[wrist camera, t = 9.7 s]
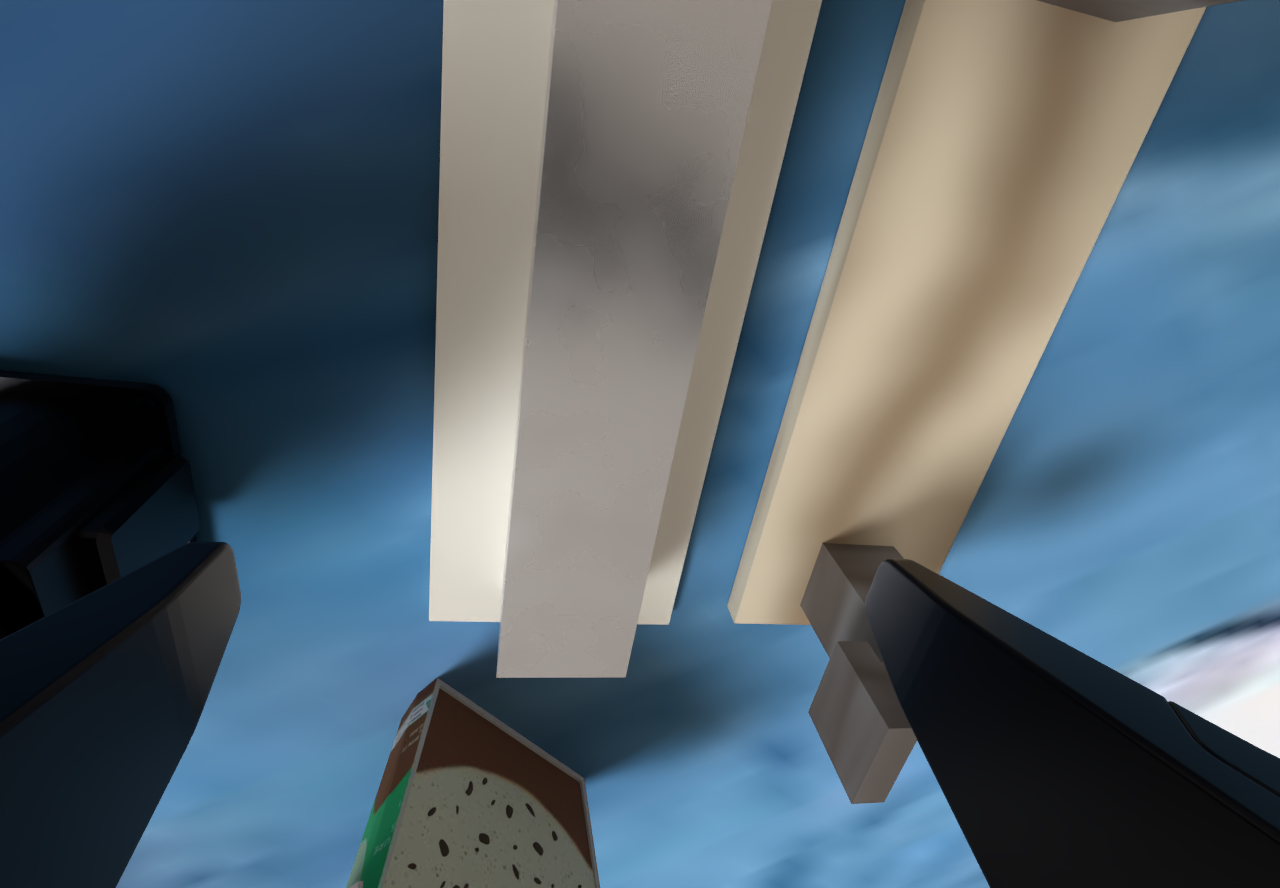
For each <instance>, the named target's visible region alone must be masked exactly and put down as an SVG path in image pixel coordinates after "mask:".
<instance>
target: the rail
mask: <svg viewBox="0 0 1280 888" xmlns="http://www.w3.org/2000/svg"><path fill="white" fill-rule="evenodd" d="M771 4H772V0H554V7H553V18H552V29H551V40H550V52H549V63H548V74H547V86H546V97H545V108H544V119H543V131H542V142H541V153H540V165H539V176H538V187H537V198H536V210H535V221H534V232H533V244H532V255H531V266H530V277H529V289H528V300H527V311H526V322H525V334H524V345H523V356H522V368H521V379H520V390H519V401H518V413H517V424H516V435H515V447H514V458H513V469H512V480H511V492H510V503H509V514H508V526H507V537H506V548H505V559H504V571H503V582H502V595H501V611H500V627H499V643H498V659H497V675H496V678H600V677H626V673H627V669H628V664H629V659H630V655H631V650H632V646H633V641H634V636H635V632H636V627H637V622H638V618H639V613H640V609H641V604H642V599H643V595H644V590H645V586H646V581H647V576H648V572H649V567H650V562H651V558H652V553H653V549H654V544H655V539H656V535H657V530H658V526H659V521H660V516H661V512H662V507H663V502H664V498H665V493H666V489H667V484H668V479H669V475H670V470H671V465H672V461H673V456H674V452H675V447H676V442H677V438H678V433H679V429H680V424H681V419H682V415H683V410H684V405H685V401H686V396H687V392H688V387H689V382H690V378H691V373H692V369H693V364H694V359H695V355H696V350H697V345H698V341H699V336H700V332H701V327H702V322H703V318H704V313H705V308H706V304H707V299H708V295H709V290H710V285H711V281H712V276H713V272H714V267H715V262H716V258H717V253H718V248H719V244H720V239H721V235H722V230H723V225H724V221H725V216H726V212H727V207H728V202H729V198H730V193H731V188H732V184H733V179H734V175H735V170H736V165H737V161H738V156H739V151H740V147H741V142H742V138H743V133H744V128H745V124H746V119H747V115H748V110H749V105H750V101H751V96H752V91H753V87H754V82H755V78H756V73H757V68H758V64H759V59H760V55H761V50H762V45H763V41H764V36H765V31H766V27H767V22H768V18H769V13H770V8H771Z"/></svg>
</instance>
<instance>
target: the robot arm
mask: <svg viewBox="0 0 1280 888" xmlns="http://www.w3.org/2000/svg"><path fill="white" fill-rule="evenodd" d="M142 397H145V398H148V399H150V400H151V401H152V402H153V403H154V405H155V408H151V407H148V406H147V405H146V404H144V402H143V400H142ZM199 529H200V523H199V517H198V511H197V505H196V499H195V494H194V488H193V482H192V476H191V470H190V464H189V461H188V460H187V459H186V458H185V457H184V455H182V454H181V448H180V443H179V437H178V431H177V426H176V420H175V414H174V409H173V403H172V400H171V397H170V395H169V394H168V393H167V392H166V391H165V390H164V389H162V388H161V387H159V386H157V385H153V384H147V383H135V382H124V381H112V380H101V379H89V378H78V377H66V376H55V375H43V374H32V373H20V372H9V371H0V888H116V886H117V884H118V882H119V880H120V878H121V876H122V874H123V872H124V870H125V868H126V866H127V864H128V862H129V860H130V858H131V856H132V854H133V852H134V850H135V848H136V846H137V844H138V842H139V840H140V839H141V837H142V835H143V833H144V831H145V829H146V827H147V825H148V823H149V821H150V819H151V817H152V815H153V813H154V811H155V809H156V807H157V805H158V803H159V801H160V799H161V797H162V795H163V793H164V791H165V789H166V787H167V785H168V783H169V781H170V779H171V777H172V775H173V773H174V771H175V769H176V767H177V765H178V763H179V761H180V760H181V758H182V756H183V754H184V752H185V750H186V748H187V745H188V743H189V741H190V739H191V737H192V735H193V733H194V731H195V728H196V726H197V723H198V721H199V718H200V716H201V713H202V711H203V708H204V706H205V703H206V700H207V698H208V695H209V692H210V690H211V687H212V684H213V681H214V679H215V676H216V673H217V671H218V668H219V665H220V663H221V660H222V657H223V654H224V652H225V649H226V646H227V644H228V641H229V638H230V635H231V633H232V630H233V627H234V625H235V622H236V619H237V617H238V614H239V610H240V604H241V593H240V587H239V581H238V575H237V569H236V563H235V557H234V552H233V550H232V548H231V546H230V545H228V544H227V543H225V542H197V539H196V533H197V531H198V530H199ZM865 613H866V617H867V620H868V622H869V625H870V628H871V630H872V633H873V635H874V638H875V641H876V643H877V646H878V649H879V651H880V654H881V656H882V659H883V662H884V664H885V667H886V670H887V672H888V675H889V677H890V680H891V683H892V685H893V688H894V691H895V693H896V695H897V698H898V700H899V703H900V705H901V707H902V710H903V712H904V714H905V716H906V718H907V720H908V722H909V724H910V726H911V729H912V731H913V733H914V735H915V737H916V739H917V741H918V743H919V745H920V747H921V749H922V751H923V753H924V755H925V757H926V759H927V761H928V763H929V765H930V767H931V769H932V771H933V773H934V775H935V777H936V779H937V781H938V783H939V785H940V787H941V789H942V791H943V793H944V795H945V797H946V799H947V801H948V803H949V805H950V807H951V809H952V811H953V813H954V816H955V818H956V820H957V822H958V824H959V826H960V828H961V830H962V832H963V834H964V836H965V838H966V840H967V842H968V844H969V846H970V848H971V850H972V852H973V854H974V856H975V858H976V860H977V862H978V864H979V866H980V868H981V870H982V872H983V874H984V876H985V878H986V880H987V882H988V884H989V886H990V888H1280V758H1278V757H1276V756H1274V755H1272V754H1270V753H1268V752H1266V751H1264V750H1262V749H1260V748H1258V747H1256V746H1254V745H1252V744H1250V743H1248V742H1247V741H1245V740H1243V739H1241V738H1239V737H1237V736H1235V735H1233V734H1232V733H1230V732H1228V731H1226V730H1224V729H1222V728H1220V727H1218V726H1217V725H1215V724H1213V723H1211V722H1209V721H1207V720H1205V719H1203V718H1202V717H1200V716H1198V715H1196V714H1194V713H1192V712H1191V711H1189V710H1187V709H1185V708H1183V707H1181V706H1180V705H1178V704H1176V703H1174V702H1171V701H1169V702H1167V700H1166V699H1165V698H1164V697H1163V696H1161V695H1159V694H1157V693H1155V692H1154V691H1152V690H1150V689H1148V688H1146V687H1144V686H1143V685H1141V684H1139V683H1137V682H1135V681H1133V680H1132V679H1130V678H1128V677H1126V676H1124V675H1122V674H1121V673H1119V672H1117V671H1115V670H1113V669H1111V668H1110V667H1108V666H1106V665H1104V664H1102V663H1100V662H1099V661H1097V660H1095V659H1093V658H1091V657H1089V656H1088V655H1086V654H1084V653H1082V652H1080V651H1078V650H1077V649H1075V648H1073V647H1071V646H1069V645H1067V644H1066V643H1064V642H1062V641H1060V640H1058V639H1056V638H1054V637H1053V636H1051V635H1049V634H1047V633H1045V632H1043V631H1042V630H1040V629H1038V628H1036V627H1034V626H1032V625H1031V624H1029V623H1027V622H1025V621H1023V620H1021V619H1020V618H1018V617H1016V616H1014V615H1012V614H1010V613H1009V612H1007V611H1005V610H1003V609H1001V608H999V607H998V606H996V605H994V604H992V603H990V602H988V601H987V600H985V599H983V598H981V597H979V596H977V595H976V594H974V593H972V592H970V591H968V590H966V589H965V588H963V587H961V586H959V585H957V584H955V583H954V582H952V581H950V580H948V579H946V578H944V577H943V576H941V575H939V574H937V573H935V572H933V571H932V570H930V569H928V568H926V567H924V566H922V565H921V564H919V563H917V562H915V561H913V560H910V559H891V558H889V559H885V560H883V561H882V562H881V563H880V565H879V567H878V569H877V572H876V574H875V577H874V579H873V582H872V584H871V587H870V589H869V592H868V594H867V597H866V600H865Z"/></svg>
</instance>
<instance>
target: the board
mask: <svg viewBox="0 0 1280 888" xmlns="http://www.w3.org/2000/svg"><path fill="white" fill-rule="evenodd" d="M821 3H822V0H772V4H771V8H770V13H769V18H768V22H767V27H766V31H765V36H764V41H763V45H762V50H761V55H760V59H759V64H758V68H757V73H756V78H755V82H754V87H753V91H752V96H751V101H750V105H749V110H748V115H747V119H746V124H745V128H744V133H743V138H742V142H741V147H740V151H739V156H738V161H737V165H736V170H735V175H734V179H733V184H732V188H731V193H730V198H729V202H728V207H727V212H726V216H725V221H724V225H723V230H722V235H721V239H720V244H719V248H718V253H717V258H716V262H715V267H714V272H713V276H712V281H711V285H710V290H709V295H708V299H707V304H706V308H705V313H704V318H703V322H702V327H701V332H700V336H699V341H698V345H697V350H696V355H695V359H694V364H693V369H692V373H691V378H690V382H689V387H688V392H687V396H686V401H685V405H684V410H683V415H682V419H681V424H680V429H679V433H678V438H677V442H676V447H675V452H674V456H673V461H672V465H671V470H670V475H669V479H668V484H667V489H666V493H665V498H664V502H663V507H662V512H661V516H660V521H659V526H658V530H657V535H656V539H655V544H654V549H653V553H652V558H651V562H650V567H649V572H648V576H647V581H646V586H645V590H644V595H643V599H642V604H641V609H640V613H639V618H638V622H637V624H652V625H669V622H670V618H671V613H672V609H673V605H674V601H675V597H676V593H677V589H678V585H679V581H680V577H681V573H682V569H683V565H684V561H685V556H686V552H687V548H688V544H689V540H690V536H691V532H692V528H693V524H694V520H695V516H696V512H697V508H698V504H699V499H700V495H701V491H702V487H703V483H704V479H705V475H706V471H707V467H708V463H709V459H710V455H711V451H712V447H713V443H714V438H715V434H716V430H717V426H718V422H719V418H720V414H721V410H722V406H723V402H724V398H725V394H726V390H727V386H728V381H729V377H730V373H731V369H732V365H733V361H734V357H735V353H736V349H737V345H738V341H739V337H740V333H741V329H742V324H743V320H744V316H745V312H746V308H747V304H748V300H749V296H750V292H751V288H752V284H753V280H754V276H755V272H756V267H757V263H758V259H759V255H760V251H761V247H762V243H763V239H764V235H765V231H766V227H767V223H768V219H769V215H770V211H771V206H772V202H773V198H774V194H775V190H776V186H777V182H778V178H779V174H780V170H781V166H782V162H783V158H784V154H785V149H786V145H787V141H788V137H789V133H790V129H791V125H792V121H793V117H794V113H795V109H796V105H797V101H798V97H799V92H800V88H801V84H802V80H803V76H804V72H805V68H806V64H807V60H808V56H809V52H810V48H811V44H812V40H813V35H814V31H815V27H816V23H817V19H818V15H819V11H820V7H821ZM553 7H554V0H444V11H443V53H442V95H441V137H440V179H439V221H438V263H437V305H436V347H435V389H434V431H433V473H432V515H431V557H430V599H429V621H469V622H500V611H501V595H502V582H503V571H504V559H505V548H506V537H507V526H508V514H509V503H510V492H511V480H512V469H513V458H514V447H515V435H516V424H517V413H518V401H519V390H520V379H521V368H522V356H523V345H524V334H525V322H526V311H527V300H528V289H529V277H530V266H531V255H532V244H533V232H534V221H535V210H536V198H537V187H538V176H539V165H540V153H541V142H542V131H543V119H544V108H545V97H546V86H547V74H548V63H549V52H550V40H551V29H552V18H553Z"/></svg>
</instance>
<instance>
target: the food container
mask: <svg viewBox="0 0 1280 888" xmlns="http://www.w3.org/2000/svg"><path fill="white" fill-rule="evenodd" d="M346 888H600V884H599V877H598V870H597V863H596V856H595V849H594V843H593V836H592V829H591V822H590V815H589V808H588V801H587V794H586V787H585V780H584V778H583V777H582V776H580V775H579V774H577V773H576V772H574V771H573V770H572V769H570V768H569V767H567V766H566V765H564V764H563V763H561V762H560V761H558V760H557V759H555V758H554V757H553V756H551V755H550V754H548V753H547V752H545V751H544V750H542V749H541V748H539V747H538V746H536V745H535V744H534V743H532V742H531V741H529V740H528V739H526V738H525V737H523V736H522V735H520V734H519V733H517V732H516V731H515V730H513V729H512V728H510V727H509V726H507V725H506V724H504V723H503V722H501V721H500V720H498V719H497V718H496V717H494V716H493V715H491V714H490V713H488V712H487V711H485V710H484V709H482V708H481V707H479V706H478V705H477V704H475V703H474V702H472V701H471V700H469V699H468V698H466V697H465V696H463V695H462V694H460V693H459V692H458V691H456V690H455V689H453V688H452V687H450V686H449V685H447V684H446V683H444V682H443V681H441V680H440V679H439V678H436V679H435V680H434V681H433V682H432V683H430V684H429V685H428V686H427V687H425V688H424V689H423V690H422V691H421V692H419V693H418V694H417V696H416V697H415V699H414V700H413V702H412V704H411V705H410V707H409V708H408V710H407V711H406V713H405V714H404V716H403V717H402V720H401V723H400V726H399V729H398V732H397V735H396V738H395V741H394V744H393V747H392V750H391V753H390V756H389V759H388V762H387V765H386V768H385V771H384V774H383V777H382V780H381V783H380V786H379V789H378V793H377V796H376V799H375V802H374V805H373V808H372V811H371V814H370V817H369V820H368V823H367V826H366V829H365V832H364V835H363V838H362V841H361V844H360V847H359V850H358V853H357V856H356V859H355V863H354V866H353V869H352V872H351V875H350V878H349V881H348V884H347V887H346Z"/></svg>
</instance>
